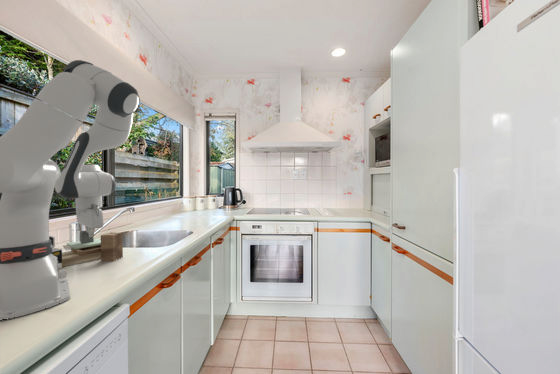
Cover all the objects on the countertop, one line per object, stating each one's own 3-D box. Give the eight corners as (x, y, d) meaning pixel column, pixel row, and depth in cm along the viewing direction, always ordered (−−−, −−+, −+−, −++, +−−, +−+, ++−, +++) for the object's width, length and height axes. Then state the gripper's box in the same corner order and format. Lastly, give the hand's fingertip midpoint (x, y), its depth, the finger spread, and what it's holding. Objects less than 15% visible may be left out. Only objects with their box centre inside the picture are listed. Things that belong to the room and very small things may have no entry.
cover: (107, 243, 108) (106, 230, 107) (74, 249, 99) (74, 234, 99) (97, 240, 114) (97, 227, 114) (66, 245, 105) (66, 231, 105)
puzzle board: (113, 255, 104) (113, 246, 104) (56, 268, 89) (55, 256, 89) (102, 250, 111) (102, 241, 111) (47, 261, 97) (47, 251, 96)
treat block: (113, 261, 97) (112, 235, 97) (101, 260, 97) (100, 235, 97) (122, 257, 102) (122, 232, 101) (111, 256, 102) (110, 232, 102)
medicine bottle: (39, 275, 84) (38, 239, 83) (24, 273, 85) (23, 238, 85) (62, 268, 90) (61, 235, 90) (48, 266, 92) (47, 234, 92)
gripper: (107, 204, 101) (108, 238, 101) (90, 201, 113) (91, 232, 114) (88, 205, 96) (89, 241, 96) (72, 203, 108) (73, 235, 109)
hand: (90, 236), depth 105 cm, fingers closed
